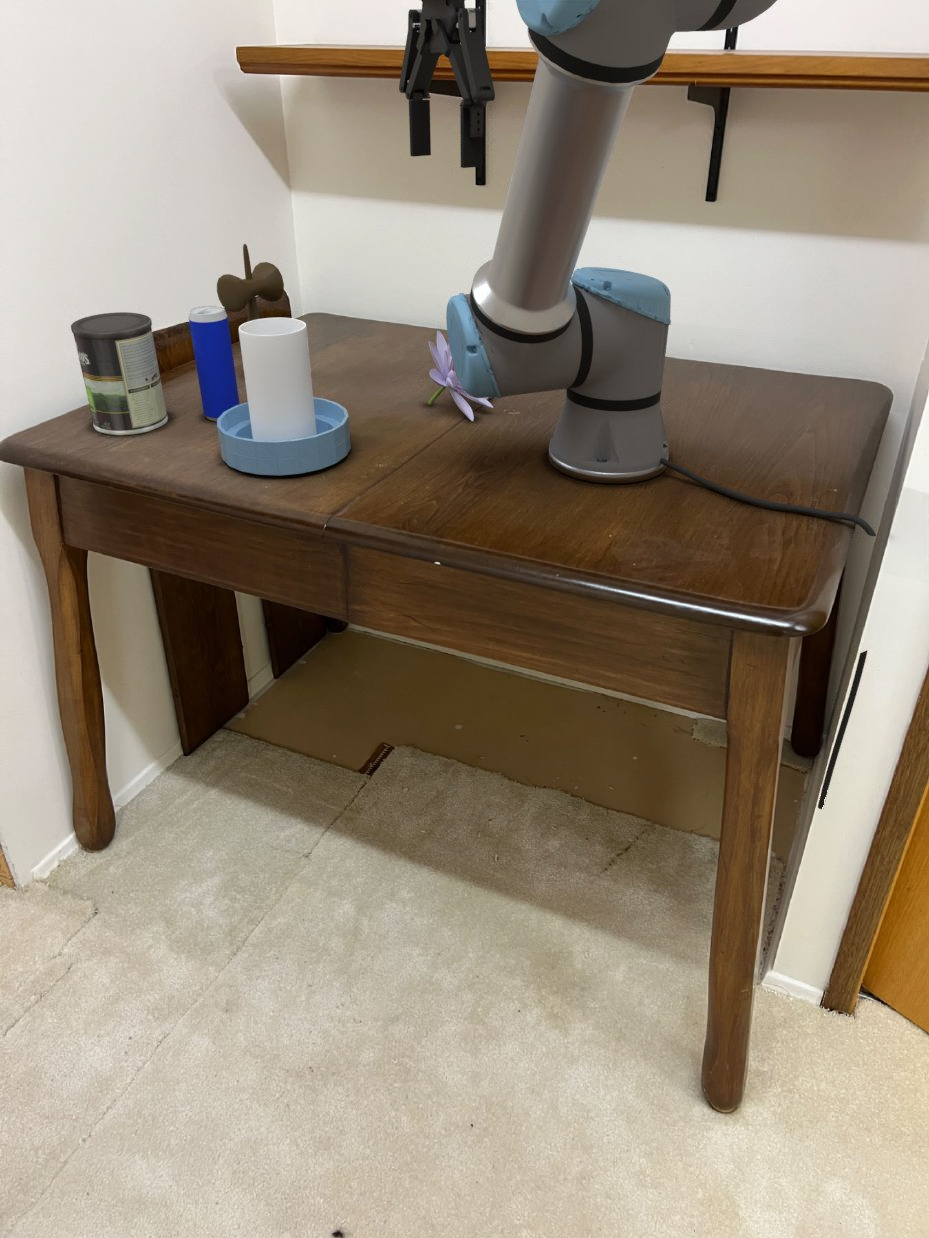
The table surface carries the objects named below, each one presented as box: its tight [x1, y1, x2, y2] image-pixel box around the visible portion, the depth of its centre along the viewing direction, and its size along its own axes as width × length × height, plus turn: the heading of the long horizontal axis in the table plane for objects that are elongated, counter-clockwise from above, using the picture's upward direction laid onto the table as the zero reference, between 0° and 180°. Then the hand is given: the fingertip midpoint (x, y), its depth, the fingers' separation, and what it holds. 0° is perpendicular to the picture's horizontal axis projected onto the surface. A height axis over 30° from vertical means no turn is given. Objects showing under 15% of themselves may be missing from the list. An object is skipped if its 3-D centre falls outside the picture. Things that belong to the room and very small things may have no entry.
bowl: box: [216, 396, 352, 476], centre depth 122 cm, size 17×17×5 cm
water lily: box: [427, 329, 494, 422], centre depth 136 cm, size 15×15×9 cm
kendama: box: [216, 243, 285, 322], centre depth 145 cm, size 6×10×20 cm, turn 149°
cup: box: [238, 317, 317, 441], centre depth 119 cm, size 8×8×16 cm
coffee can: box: [70, 311, 169, 436], centre depth 129 cm, size 10×10×14 cm
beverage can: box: [188, 305, 241, 422], centre depth 131 cm, size 5×5×15 cm
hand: (445, 161), depth 121 cm, fingers open, 13 cm apart
